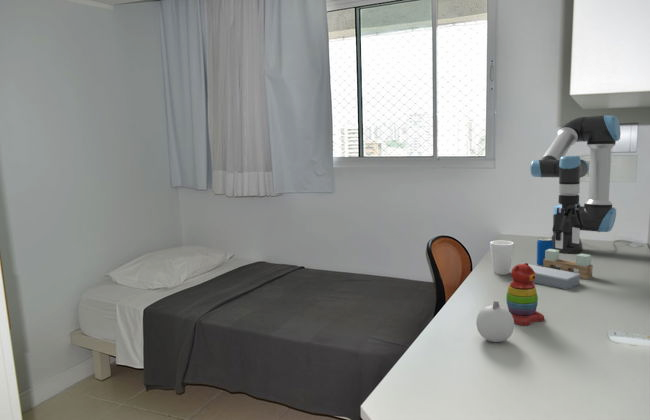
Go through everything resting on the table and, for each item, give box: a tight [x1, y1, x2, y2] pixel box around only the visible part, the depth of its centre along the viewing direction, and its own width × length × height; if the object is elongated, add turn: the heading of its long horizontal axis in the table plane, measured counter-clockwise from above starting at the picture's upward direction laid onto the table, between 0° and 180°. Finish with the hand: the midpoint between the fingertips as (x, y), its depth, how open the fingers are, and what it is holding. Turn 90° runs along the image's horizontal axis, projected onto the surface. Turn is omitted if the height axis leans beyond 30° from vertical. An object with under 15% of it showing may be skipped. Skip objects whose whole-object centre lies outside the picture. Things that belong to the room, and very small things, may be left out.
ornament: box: [475, 300, 515, 343], centre depth 143 cm, size 10×10×12 cm
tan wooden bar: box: [543, 258, 594, 280], centre depth 205 cm, size 5×18×5 cm, turn 37°
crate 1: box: [545, 249, 560, 261], centre depth 210 cm, size 4×4×4 cm
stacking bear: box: [505, 262, 546, 326], centre depth 158 cm, size 11×10×18 cm
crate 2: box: [575, 253, 592, 267], centre depth 200 cm, size 4×4×4 cm
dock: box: [528, 263, 581, 290], centre depth 197 cm, size 10×22×4 cm, turn 37°
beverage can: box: [536, 237, 553, 267], centre depth 219 cm, size 6×6×12 cm
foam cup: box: [489, 239, 515, 276], centre depth 211 cm, size 10×9×13 cm
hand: (567, 245), depth 204 cm, fingers open, 13 cm apart
